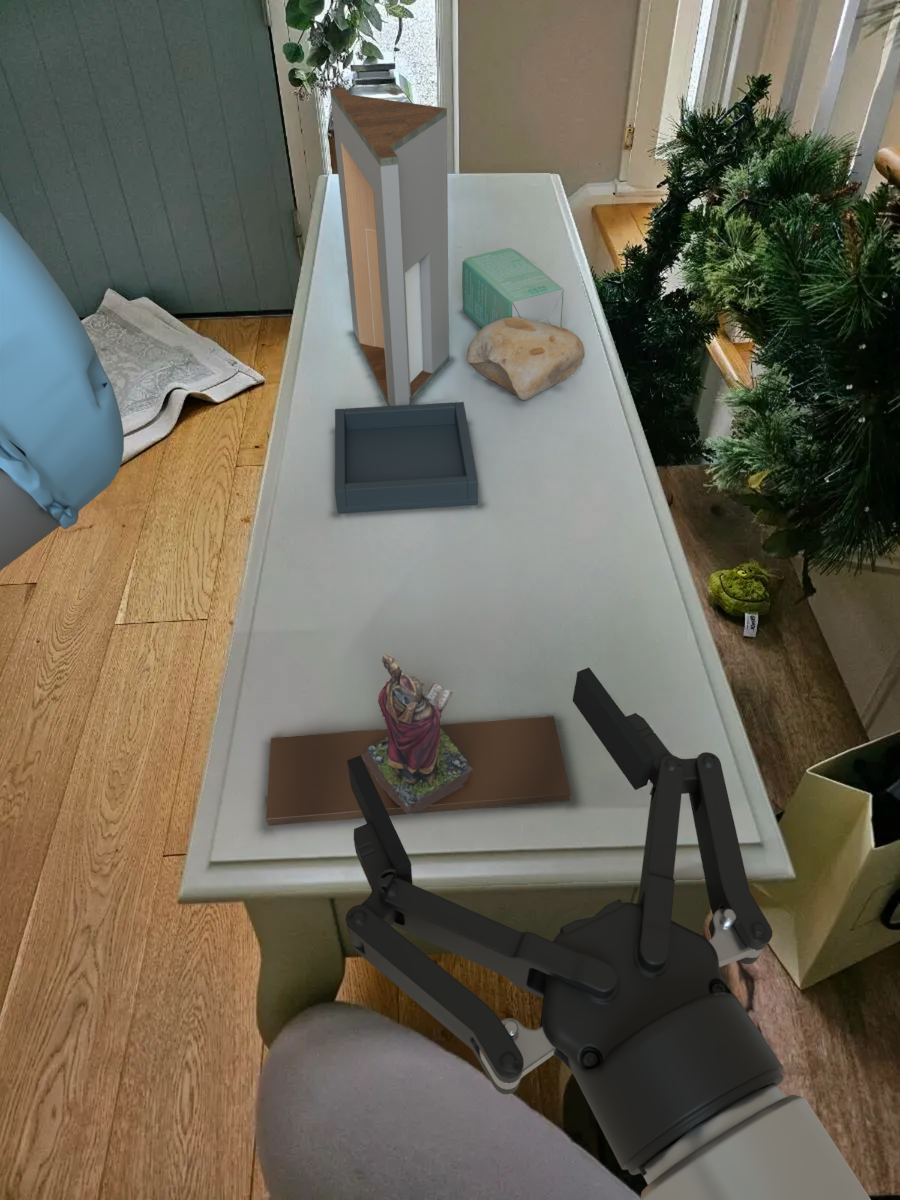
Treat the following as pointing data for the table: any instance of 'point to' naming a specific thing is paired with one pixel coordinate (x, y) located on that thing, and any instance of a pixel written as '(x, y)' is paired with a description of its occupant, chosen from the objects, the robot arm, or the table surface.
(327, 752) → the board
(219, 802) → the table surface
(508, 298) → the box
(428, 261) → the cabinet
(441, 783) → the figurine
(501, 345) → the stone
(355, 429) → the dark grey square tray
